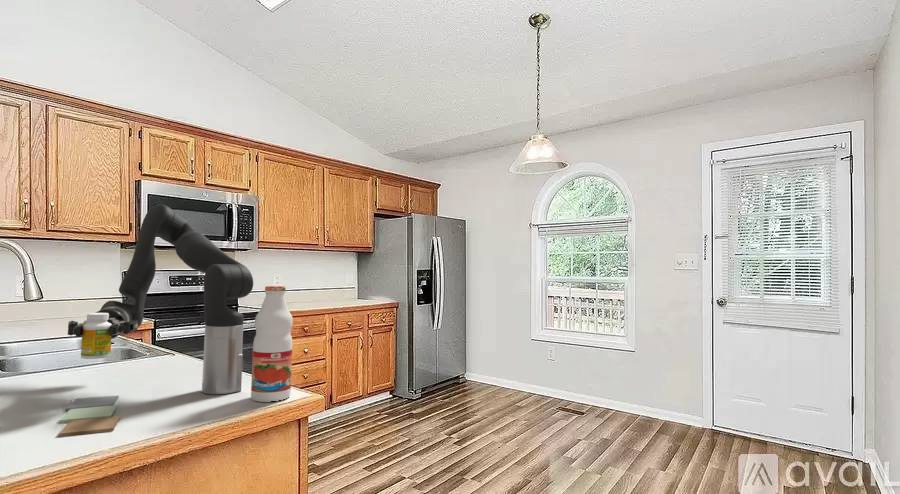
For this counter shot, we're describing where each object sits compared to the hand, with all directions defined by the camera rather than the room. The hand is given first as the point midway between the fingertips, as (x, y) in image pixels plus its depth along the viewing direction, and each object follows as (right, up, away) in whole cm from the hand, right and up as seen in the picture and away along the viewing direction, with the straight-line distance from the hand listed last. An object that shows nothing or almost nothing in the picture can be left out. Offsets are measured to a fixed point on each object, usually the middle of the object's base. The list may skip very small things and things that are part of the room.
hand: (94, 331), depth 106 cm
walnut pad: (+6, -17, -10) cm, 21 cm away
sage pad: (0, -18, -2) cm, 18 cm away
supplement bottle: (-1, -6, +2) cm, 7 cm away
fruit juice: (+33, -20, +15) cm, 41 cm away
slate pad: (-5, -18, +6) cm, 20 cm away
